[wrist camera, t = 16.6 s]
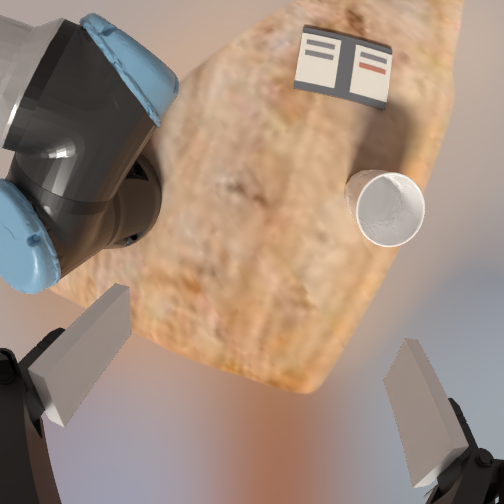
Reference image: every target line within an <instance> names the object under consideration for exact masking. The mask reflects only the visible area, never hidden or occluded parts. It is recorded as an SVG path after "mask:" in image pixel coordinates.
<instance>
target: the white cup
mask: <svg viewBox="0 0 504 504" xmlns="http://www.w3.org/2000/svg"><path fill="white" fill-rule="evenodd" d="M344 198H345V201H346V205H347V208H348V209H349V211H350V213H351V215H352V217H353V219H354V220H355V222H356V223H357V225H358V226H359V228H360V229H361V231H362V233H363V234H364V235H365V236H366V237H367V238H368V239H369V240H370V241H371V242H373V243H375V244H377V245H380V246H384V247H394V246H398V245H401V244H403V243H405V242H407V241H409V240H410V239H411V238H412V237H413V236H414V235H415V234H416V233H417V232H418V230H419V228H420V227H421V224H422V222H423V219H424V214H425V202H424V198H423V194H422V192H421V190H420V188H419V187H418V185H417V184H416V183H415V182H414V181H413V180H412V179H411V178H409V177H408V176H406V175H404V174H401V173H396V172H390V171H384V170H361V171H360V172H358V173H356V174H354V175H352V177H351V178H350V180H349V181H348V182H347V184H346V187H345V193H344Z"/></svg>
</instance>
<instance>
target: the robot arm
mask: <svg viewBox="0 0 504 504" xmlns="http://www.w3.org/2000/svg"><path fill="white" fill-rule="evenodd" d="M178 91H179V82H178V78H177V77H176V75H175V74H174V73H173V71H172V70H171V69H170V68H168V67H167V66H166V65H165V64H164V63H163V62H162V61H161V60H159V59H158V58H157V57H156V56H155V55H154V54H152V53H151V52H150V51H149V50H147V49H146V48H145V47H143V46H142V45H141V44H140V43H138V42H137V41H136V40H134V39H133V38H132V37H130V36H129V35H127V34H126V33H124V32H123V31H122V30H120V29H118V28H117V27H116V26H114V25H113V24H111V23H109V22H108V21H107V20H106V19H104V18H102V17H101V16H99V15H97V14H95V13H91V14H88V15H87V16H85V17H84V18H82V19H81V20H80V25H78V24H75V23H73V22H70V21H68V20H66V19H64V18H59V19H57V20H54V21H52V22H49V23H46V24H45V25H42V26H37V27H33V26H31V25H28V24H25V23H22V22H19V21H16V20H14V19H11V18H7V17H4V16H2V15H0V147H1V148H4V149H8V150H11V151H15V154H14V157H13V160H12V163H11V166H10V169H9V172H8V175H7V177H6V178H5V179H0V276H1V277H2V278H3V279H4V280H5V282H7V283H8V284H9V285H10V286H12V287H13V288H14V289H16V290H17V291H19V292H22V293H29V294H36V293H39V292H41V291H42V290H44V289H46V288H48V287H50V286H53V285H55V284H56V283H58V281H59V280H60V279H61V278H63V277H64V276H65V275H67V274H68V273H70V272H71V271H72V270H74V269H75V268H77V267H78V266H79V265H81V264H82V263H84V262H85V261H86V260H88V259H89V258H91V257H92V256H94V255H95V254H97V253H98V252H100V251H101V250H102V249H115V248H123V247H127V246H130V245H132V244H134V243H136V242H137V241H138V240H140V239H141V238H143V237H144V236H145V235H146V234H147V233H148V232H149V231H150V230H151V229H152V227H153V226H154V224H155V222H156V220H157V218H158V215H159V211H160V205H161V190H160V185H159V181H158V178H157V175H156V173H155V171H154V169H153V167H152V166H151V164H150V163H149V162H148V160H147V159H146V158H145V157H144V156H143V155H141V154H140V153H141V151H142V149H143V148H144V146H145V145H146V143H147V142H148V140H149V139H150V137H151V135H152V134H153V132H154V131H155V129H156V128H157V127H160V125H161V120H162V118H163V116H164V115H165V113H166V112H167V110H168V108H169V107H170V105H171V104H172V102H173V101H174V99H175V98H176V96H177V94H178ZM130 335H131V319H130V298H129V287H127V286H124V285H120V284H116V283H115V284H114V285H113V286H112V287H111V288H110V289H109V290H107V291H106V292H105V293H104V294H103V295H102V296H101V297H100V298H99V299H98V300H97V301H96V302H94V303H93V304H92V305H91V306H90V307H89V308H88V309H87V310H86V311H85V312H84V313H83V314H82V315H81V316H80V317H79V318H78V319H77V320H76V321H74V323H72V324H71V325H70V326H69V327H68V328H67V329H66V330H65V329H63V328H58V329H56V330H54V331H51V332H50V333H49V334H47V336H45V337H44V338H43V340H42V341H40V342H39V343H38V344H37V346H36V347H34V348H33V349H32V350H31V351H30V352H29V353H28V354H27V355H26V356H25V357H24V358H23V359H22V360H21V361H20V362H19V363H17V360H16V358H15V355H14V354H13V352H12V351H11V350H9V349H7V348H0V504H62V503H61V500H60V497H59V493H58V490H57V487H56V483H55V479H54V475H53V471H52V467H51V463H50V458H49V454H48V449H47V444H46V438H45V432H44V426H43V420H42V418H41V415H42V414H43V412H44V411H46V414H47V416H48V418H49V419H50V420H52V421H53V422H55V423H57V424H59V425H61V426H63V427H65V426H66V425H67V423H68V422H69V420H70V419H71V418H72V416H73V415H74V413H75V412H76V410H77V409H78V407H79V406H80V404H81V403H82V401H83V400H84V398H85V397H86V396H87V394H88V393H89V392H90V390H91V389H92V387H93V386H94V384H95V383H96V382H97V380H98V379H99V378H100V376H101V375H102V373H103V372H104V371H105V369H106V368H107V366H108V365H109V364H110V362H111V361H112V360H113V358H114V357H115V355H116V354H117V353H118V351H119V350H120V349H121V347H122V346H123V345H124V343H125V342H126V341H127V339H128V338H129V337H130ZM384 383H385V387H386V390H387V393H388V396H389V400H390V403H391V406H392V409H393V413H394V417H395V420H396V424H397V427H398V430H399V434H400V438H401V442H402V446H403V449H404V453H405V457H406V461H407V465H408V469H409V474H410V478H411V483H412V487H413V488H415V487H421V486H427V485H429V484H430V483H431V482H433V481H434V480H435V479H436V478H437V481H438V484H437V485H436V486H435V487H434V488H433V489H431V490H430V491H429V492H428V493H426V495H425V496H424V498H426V497H427V496H428V495H430V494H431V495H430V497H429V498H428V500H427V502H426V504H495V499H496V498H497V497H498V496H499V502H498V503H496V504H504V460H500V459H494V458H493V456H492V455H491V453H490V452H489V451H487V450H486V449H483V448H478V446H477V444H476V442H475V439H474V437H473V435H472V433H471V430H470V428H469V426H468V424H467V423H466V422H467V421H466V419H465V417H464V416H463V413H462V411H461V409H460V406H459V405H458V404H457V403H456V402H455V401H454V400H453V399H452V398H447V395H446V394H445V391H444V389H443V387H442V385H441V383H440V381H439V379H438V377H437V375H436V373H435V371H434V369H433V367H432V366H431V364H430V362H429V360H428V358H427V356H426V354H425V352H424V351H423V348H422V347H421V345H420V343H419V341H418V340H416V339H406V338H405V339H404V341H403V343H402V346H401V347H400V350H399V352H398V354H397V356H396V358H395V360H394V362H393V364H392V365H391V367H390V369H389V371H388V373H387V375H386V377H385V378H384Z"/></svg>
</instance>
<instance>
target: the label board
mask: <svg viewBox="0 0 504 504" xmlns="http://www.w3.org/2000/svg"><path fill="white" fill-rule="evenodd" d="M391 63H392V50H391V49H388V48H385V47H382V46H379V45H376V44H373V43H369V42H366V41H362V40H359V39H355V38H351V37H347V36H343V35H339V34H335V33H331V32H326V31H321V30H316V29H311V28H306V27H303V33H302V39H301V46H300V52H299V58H298V64H297V70H296V76H295V82H294V88H293V89H299V90H304V91H309V92H314V93H319V94H323V95H328V96H332V97H337V98H341V99H345V100H349V101H353V102H356V103H360V104H364V105H367V106H371V107H374V108H378V109H381V110H385V105H386V102H387V95H388V88H389V80H390V72H391Z"/></svg>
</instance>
